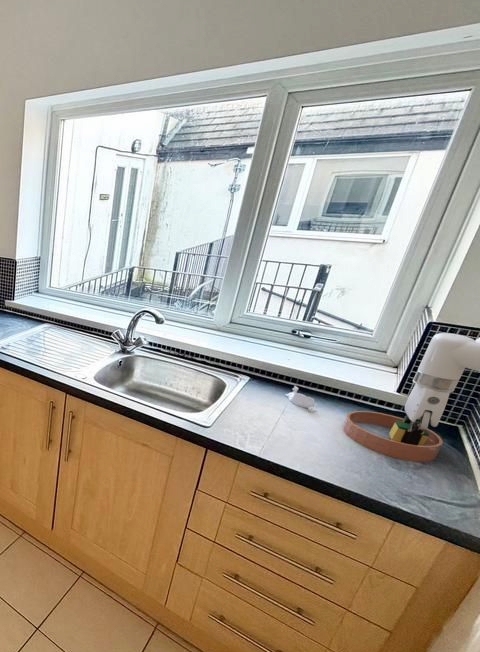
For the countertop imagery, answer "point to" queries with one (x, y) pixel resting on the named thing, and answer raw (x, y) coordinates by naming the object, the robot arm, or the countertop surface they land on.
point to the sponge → (400, 429)
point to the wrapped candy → (301, 399)
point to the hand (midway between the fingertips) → (406, 440)
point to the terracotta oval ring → (389, 445)
